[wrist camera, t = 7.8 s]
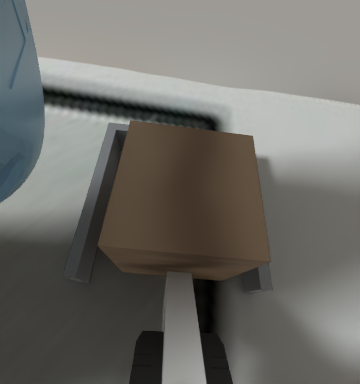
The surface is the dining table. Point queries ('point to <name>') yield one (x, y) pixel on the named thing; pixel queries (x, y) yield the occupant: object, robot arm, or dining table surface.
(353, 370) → the dining table surface
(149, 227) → the walnut block
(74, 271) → the grey u-shaped frame
